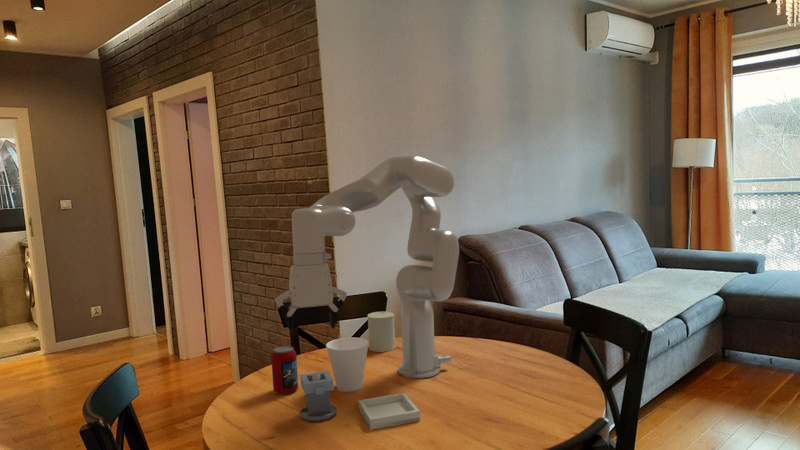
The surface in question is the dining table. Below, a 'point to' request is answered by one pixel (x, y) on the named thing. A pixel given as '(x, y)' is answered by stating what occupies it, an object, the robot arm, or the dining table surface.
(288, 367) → the beverage can
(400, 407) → the tray
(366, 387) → the dining table surface
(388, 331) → the can
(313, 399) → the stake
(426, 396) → the dining table surface
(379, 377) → the dining table surface
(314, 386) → the blue-grey rectangular frame
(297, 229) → the robot arm
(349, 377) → the cup
